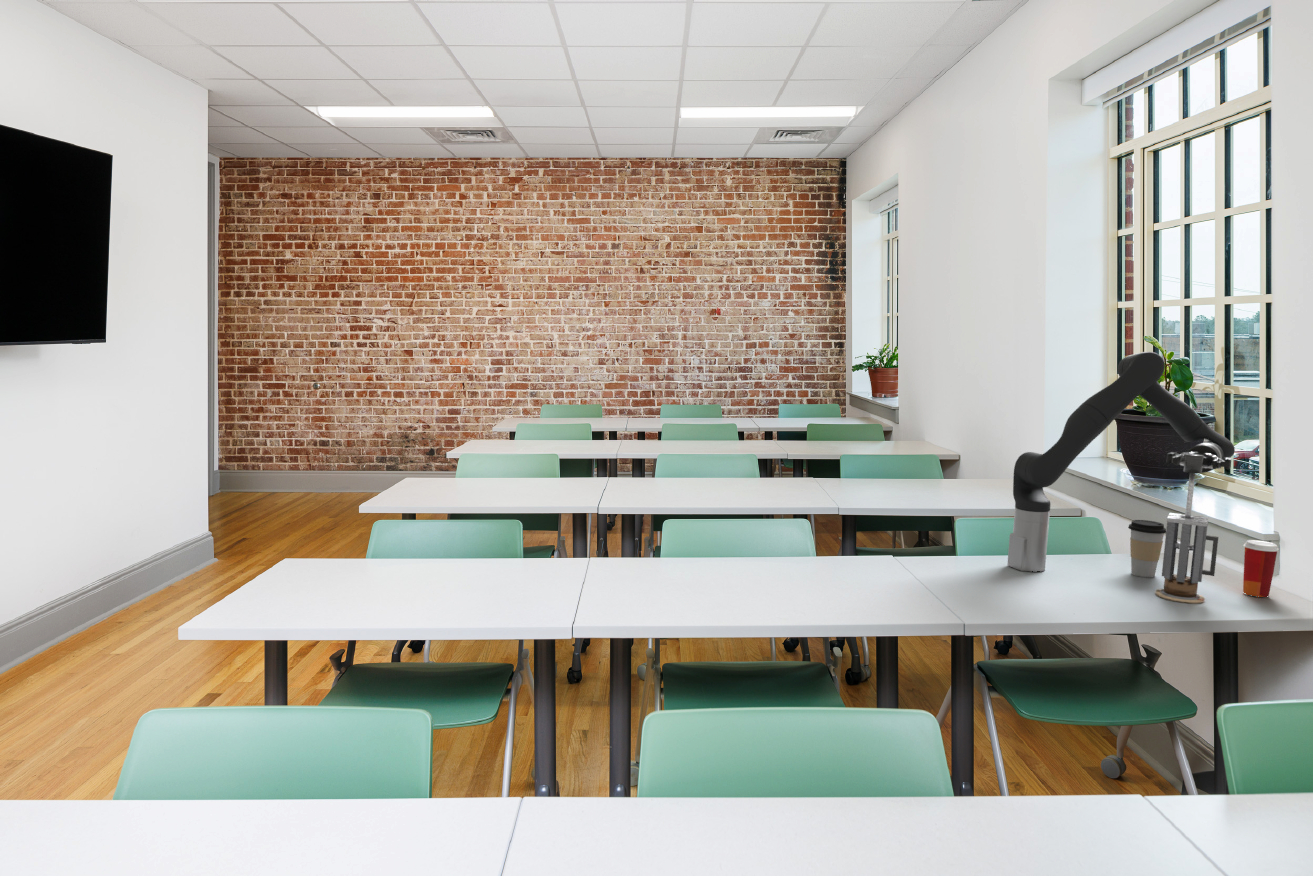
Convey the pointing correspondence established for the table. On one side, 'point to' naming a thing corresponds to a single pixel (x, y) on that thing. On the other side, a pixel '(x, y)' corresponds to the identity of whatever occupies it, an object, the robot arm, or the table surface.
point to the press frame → (1185, 559)
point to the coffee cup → (1145, 546)
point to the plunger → (1191, 484)
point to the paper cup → (1258, 567)
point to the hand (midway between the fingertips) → (1195, 462)
